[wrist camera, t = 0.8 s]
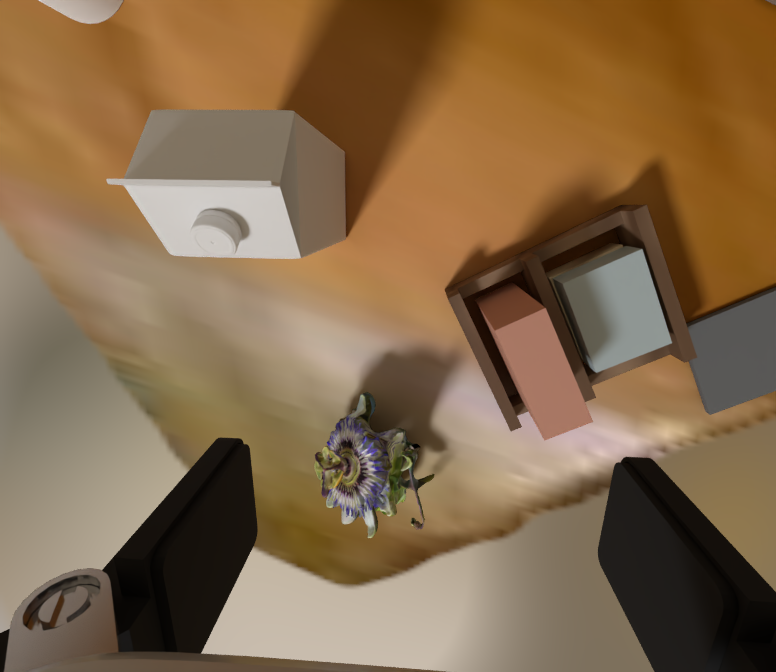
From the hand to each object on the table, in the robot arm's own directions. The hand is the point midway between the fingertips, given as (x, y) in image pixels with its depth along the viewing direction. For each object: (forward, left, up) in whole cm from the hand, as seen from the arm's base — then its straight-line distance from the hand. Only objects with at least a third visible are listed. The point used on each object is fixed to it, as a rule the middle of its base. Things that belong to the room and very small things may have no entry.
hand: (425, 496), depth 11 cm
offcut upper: (-13, +8, -26) cm, 30 cm away
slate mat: (-25, +17, -28) cm, 41 cm away
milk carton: (+5, -12, -28) cm, 31 cm away
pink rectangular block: (-6, +7, -28) cm, 29 cm away
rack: (-10, +7, -28) cm, 30 cm away
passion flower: (+10, +12, -28) cm, 32 cm away
